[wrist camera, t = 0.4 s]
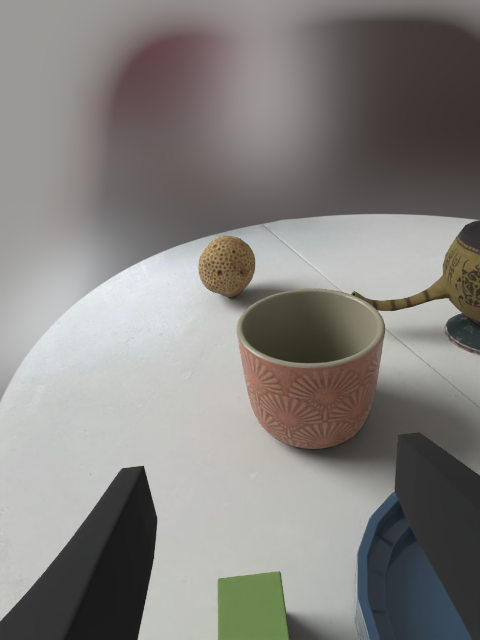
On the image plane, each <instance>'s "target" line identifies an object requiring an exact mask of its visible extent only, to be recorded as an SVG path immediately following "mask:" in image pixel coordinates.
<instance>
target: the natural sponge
mask: <svg viewBox="0 0 480 640" xmlns="http://www.w3.org/2000/svg"><path fill="white" fill-rule="evenodd" d="M198 268H199V275H200V278H201V281H202V282H203V284H204V285H205V287H206V288H207V289H209V290H210V291H212V292H215V293H219V294H222V295H224V296H227V297H233V296H235V295H237V294H239V293H240V292H241V291H242V290H243V289H244V288H245V287H246V286H247V285H248V284H249V283H250V281H251V279H252V277H253V274H254V271H255V257H254V254H253V252H252V250H251V248H250V247H249V245H248V244H246V243H245V242H244V241H242V240H241V239H239V238H237V237H233V236H220V237H218V238H216V239H215V240H213V241H212V242H211V243H210V244H209V245H208V246H207V247H206V248H205V249H204V251H203V252H202V254H201V256H200V259H199V267H198Z"/></svg>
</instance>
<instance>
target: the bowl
mask: <svg viewBox="0 0 480 640" xmlns="http://www.w3.org/2000/svg"><path fill="white" fill-rule="evenodd" d="M355 623H356V627H357V631H358V635H359V639H360V640H472V639H471V637H470V635H469V633H468V631H467V629H466V627H465V625H464V623H463V621H462V619H461V617H460V615H459V613H458V612H457V610H456V608H455V606H454V605H453V603H452V601H451V599H450V597H449V596H448V594H447V592H446V590H445V589H444V587H443V585H442V583H441V581H440V580H439V578H438V576H437V574H436V573H435V571H434V569H433V567H432V565H431V564H430V562H429V560H428V558H427V557H426V555H425V553H424V551H423V549H422V548H421V546H420V544H419V542H418V540H417V539H416V537H415V535H414V533H413V531H412V529H411V528H410V526H409V523H408V521H407V519H406V516H405V514H404V512H403V509H402V507H401V505H400V502H399V500H398V497H397V495H396V492H394V493H392V494H391V495H390V496H389V497H388V498H387V499H386V501H385V502H384V503H383V504H382V505H381V506H380V507H379V508H378V509H377V510H376V512H375V513H374V514H373V515H372V516H371V517H370V519H369V522H368V524H367V527H366V530H365V533H364V536H363V538H362V541H361V544H360V547H359V550H358V554H357V563H356V573H355Z"/></svg>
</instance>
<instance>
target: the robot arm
mask: <svg viewBox="0 0 480 640" xmlns="http://www.w3.org/2000/svg"><path fill="white" fill-rule="evenodd" d="M395 492H396V495H397V497H398V500H399V502H400V505H401V507H402V509H403V512H404V514H405V516H406V519H407V521H408V523H409V526H410V528H411V529H412V531H413V533H414V535H415V537H416V539H417V540H418V542H419V544H420V546H421V548H422V549H423V551H424V553H425V555H426V557H427V558H428V560H429V562H430V564H431V565H432V567H433V569H434V571H435V573H436V574H437V576H438V578H439V580H440V581H441V583H442V585H443V587H444V589H445V590H446V592H447V594H448V596H449V597H450V599H451V601H452V603H453V605H454V606H455V608H456V610H457V612H458V613H459V615H460V617H461V619H462V621H463V623H464V625H465V627H466V629H467V631H468V633H469V635H470V637H471V639H472V640H480V475H478V474H477V473H475V472H474V471H472V470H471V469H470V468H468V467H467V466H465V465H464V464H463V463H461V462H460V461H458V460H457V459H456V458H454V457H453V456H452V455H450V454H449V453H447V452H446V451H445V450H443V449H442V448H441V447H439V446H438V445H437V444H435V443H434V442H432V441H431V440H430V439H428V438H427V437H425V436H424V435H423V434H421V433H412V434H403V435H398V446H397V461H396V477H395ZM156 530H157V516H156V512H155V508H154V504H153V500H152V496H151V492H150V488H149V484H148V480H147V476H146V473H145V469H144V466H138V467H130V468H122V469H121V470H120V472H119V473H118V474H117V476H116V477H115V479H114V480H113V481H112V483H111V484H110V486H109V487H108V489H107V490H106V492H105V493H104V494H103V496H102V497H101V499H100V500H99V502H98V503H97V504H96V506H95V507H94V509H93V510H92V511H91V513H90V514H89V515H88V517H87V518H86V520H85V521H84V522H83V524H82V525H81V526H80V528H79V529H78V530H77V532H76V533H75V534H74V536H73V537H72V538H71V540H70V541H69V542H68V543H67V545H66V546H65V547H64V548H63V550H62V551H61V552H60V553H59V555H58V556H57V557H56V558H55V560H54V561H53V562H52V563H51V565H50V566H49V567H48V568H47V570H46V571H45V572H44V573H43V574H42V576H41V577H40V578H39V579H38V580H37V581H36V583H35V584H34V585H33V586H32V587H31V588H30V590H29V591H28V592H27V593H26V594H25V595H24V596H23V597H22V599H21V600H20V601H19V602H18V603H17V604H16V605H15V606H14V607H13V608H12V609H11V611H10V612H9V613H8V614H7V615H6V616H5V617H4V618H3V619H2V620H1V621H0V640H137V639H138V635H139V630H140V625H141V620H142V615H143V610H144V605H145V600H146V595H147V590H148V585H149V580H150V575H151V570H152V565H153V560H154V551H155V541H156Z"/></svg>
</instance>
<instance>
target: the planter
mask: <svg viewBox="0 0 480 640" xmlns="http://www.w3.org/2000/svg"><path fill="white" fill-rule="evenodd" d="M384 334H385V324H384V320H383V318H382V316H381V315H380V313H379V312H378V311H377V310H376V309H375V308H374V307H373V306H372V305H370V304H369V303H367V302H366V301H364V300H362V299H360V298H358V297H355V296H353V295H350V294H347V293H343V292H339V291H334V290H327V289H297V290H290V291H285V292H280V293H277V294H273V295H270V296H268V297H265V298H263V299H261V300H259V301H257V302H256V303H254V304H253V305H251V306H250V307H249V308H248V309H246V311H245V312H244V313H243V314H242V315H241V317H240V319H239V321H238V324H237V336H238V341H239V347H240V353H241V359H242V365H243V370H244V376H245V381H246V386H247V391H248V395H249V399H250V402H251V405H252V408H253V411H254V413H255V416H256V417H257V419H258V421H259V423H260V424H261V425H262V427H263V428H264V429H265V430H266V431H267V432H268V433H269V434H271V435H272V436H273V437H275V438H276V439H278V440H280V441H282V442H284V443H286V444H289V445H292V446H295V447H299V448H307V449H320V448H327V447H332V446H335V445H338V444H340V443H343V442H345V441H346V440H348V439H350V438H351V437H353V436H354V435H355V434H356V433H357V432H358V431H359V430H360V429H361V428H362V426H363V425H364V423H365V421H366V420H367V418H368V415H369V413H370V410H371V407H372V403H373V400H374V396H375V390H376V385H377V379H378V373H379V367H380V360H381V354H382V347H383V340H384Z"/></svg>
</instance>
